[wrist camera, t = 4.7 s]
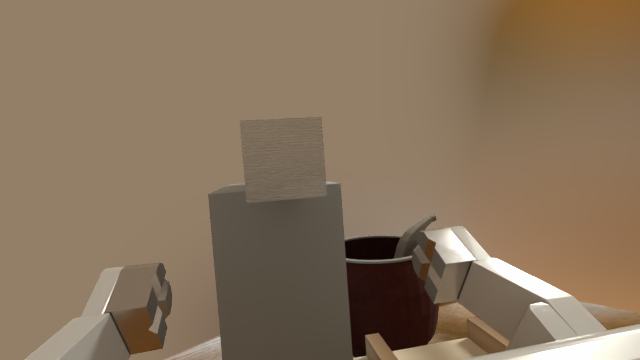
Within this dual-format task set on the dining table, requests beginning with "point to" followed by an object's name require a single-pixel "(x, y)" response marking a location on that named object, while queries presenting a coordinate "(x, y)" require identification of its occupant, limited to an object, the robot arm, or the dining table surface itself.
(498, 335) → the cradle block
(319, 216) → the grey tall block
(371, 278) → the mate gourd
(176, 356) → the dining table surface
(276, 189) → the bar
